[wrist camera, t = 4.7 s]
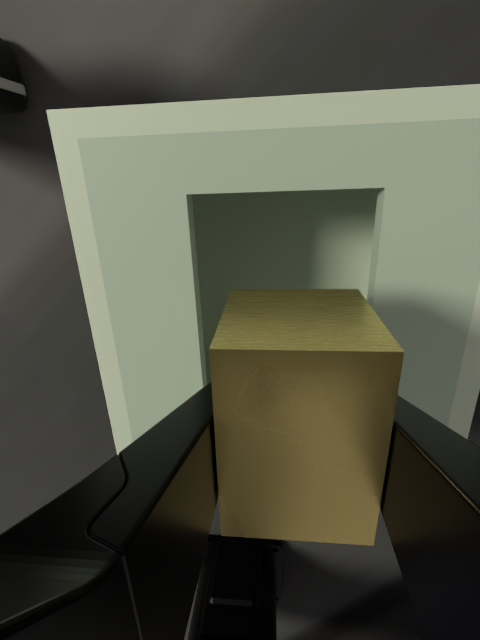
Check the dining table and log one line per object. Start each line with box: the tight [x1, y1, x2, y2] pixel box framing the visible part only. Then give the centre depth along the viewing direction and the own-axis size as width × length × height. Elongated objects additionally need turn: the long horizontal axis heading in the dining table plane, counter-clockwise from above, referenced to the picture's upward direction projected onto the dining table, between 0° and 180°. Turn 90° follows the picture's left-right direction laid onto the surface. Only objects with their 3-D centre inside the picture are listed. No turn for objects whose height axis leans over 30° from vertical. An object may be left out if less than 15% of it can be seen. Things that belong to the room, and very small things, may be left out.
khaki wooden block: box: [209, 289, 404, 546], centre depth 8 cm, size 4×3×4 cm
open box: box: [46, 84, 480, 455], centre depth 16 cm, size 14×14×7 cm
